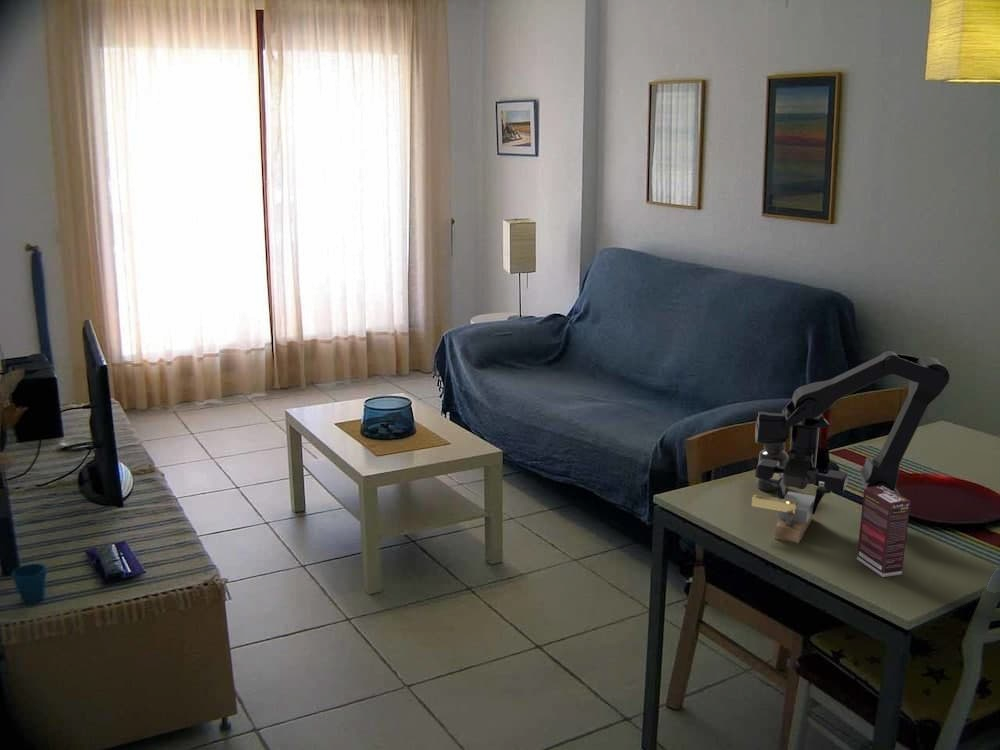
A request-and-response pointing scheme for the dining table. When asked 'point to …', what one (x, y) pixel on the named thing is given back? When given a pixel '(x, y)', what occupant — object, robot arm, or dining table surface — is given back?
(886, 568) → the supplement box
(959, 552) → the dining table surface
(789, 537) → the key box
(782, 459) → the supplement bottle
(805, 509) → the cover
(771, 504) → the tan rectangular bar
